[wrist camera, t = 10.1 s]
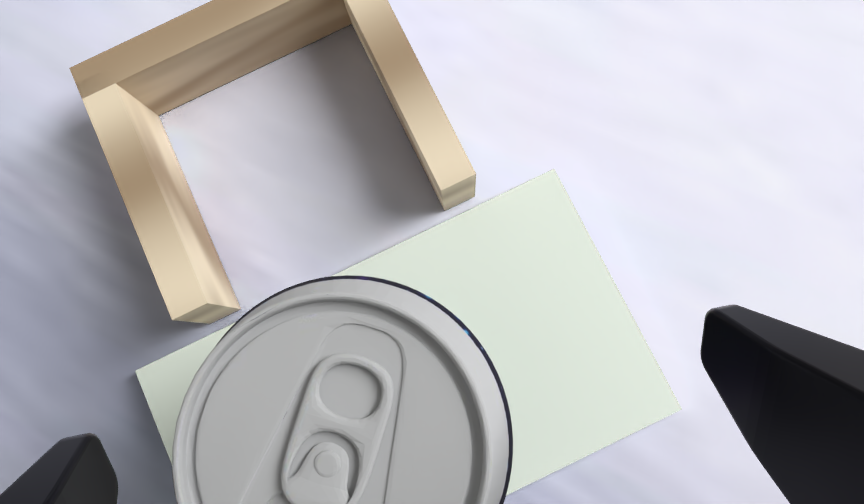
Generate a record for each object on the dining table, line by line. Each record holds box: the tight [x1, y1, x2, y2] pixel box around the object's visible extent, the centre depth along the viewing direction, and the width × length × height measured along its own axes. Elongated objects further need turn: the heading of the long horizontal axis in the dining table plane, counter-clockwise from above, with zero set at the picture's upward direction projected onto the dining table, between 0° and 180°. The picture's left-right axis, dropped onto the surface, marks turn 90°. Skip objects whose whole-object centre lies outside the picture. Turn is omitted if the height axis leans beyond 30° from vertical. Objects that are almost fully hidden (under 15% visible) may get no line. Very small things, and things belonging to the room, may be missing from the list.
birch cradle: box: [70, 0, 476, 324], centre depth 22 cm, size 9×10×3 cm
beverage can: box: [172, 275, 513, 504], centre depth 16 cm, size 6×6×12 cm
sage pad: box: [135, 169, 682, 495], centre depth 22 cm, size 9×16×1 cm, turn 116°
